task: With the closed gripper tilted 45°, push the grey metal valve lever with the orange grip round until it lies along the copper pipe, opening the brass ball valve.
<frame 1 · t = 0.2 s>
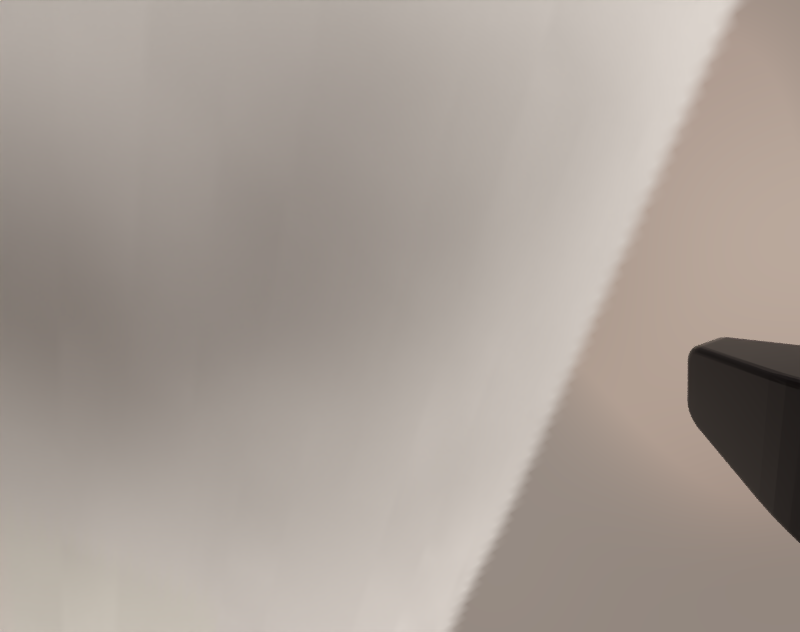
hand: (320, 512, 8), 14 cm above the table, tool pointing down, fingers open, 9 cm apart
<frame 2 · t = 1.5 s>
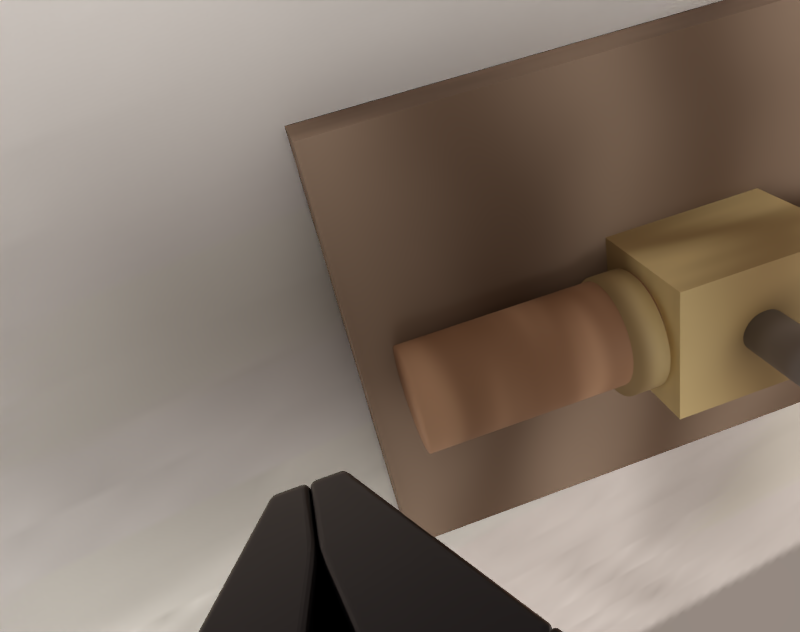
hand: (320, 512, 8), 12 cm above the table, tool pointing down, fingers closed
valve stand: (653, 253, 22), on the table
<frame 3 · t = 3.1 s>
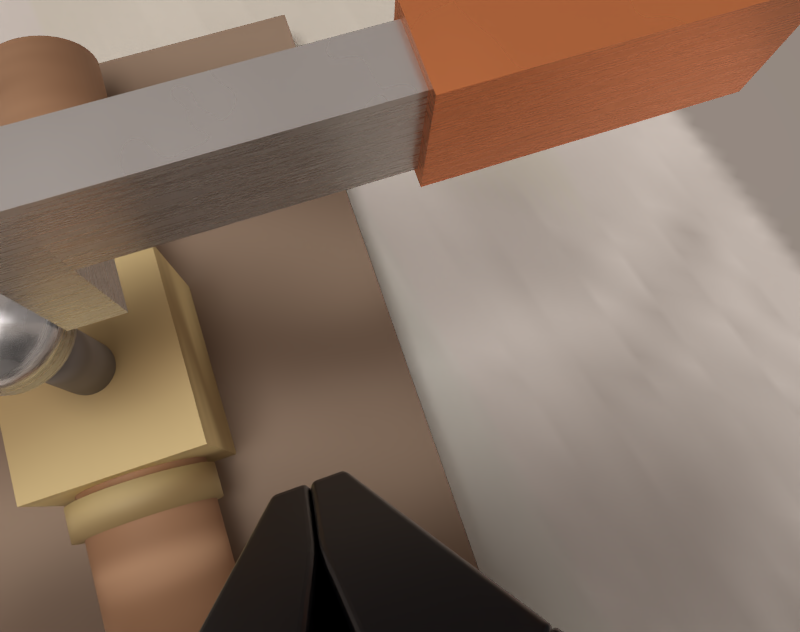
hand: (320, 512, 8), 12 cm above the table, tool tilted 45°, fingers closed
valve lever: (311, 175, 10), point 11 cm above the table, hinge at 0.0°
valve stand: (155, 399, 20), on the table
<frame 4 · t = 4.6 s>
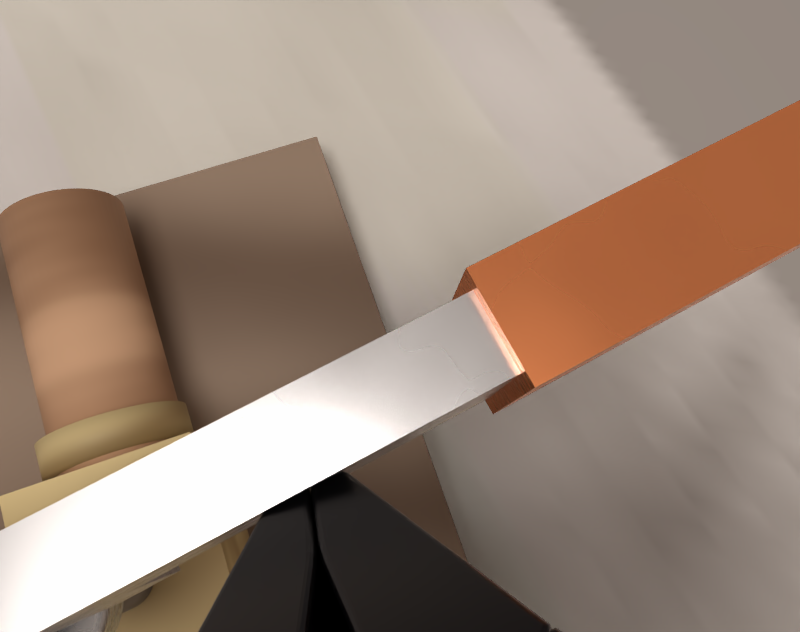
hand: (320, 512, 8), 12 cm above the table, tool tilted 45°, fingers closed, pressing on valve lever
valve lever: (371, 419, 9), point 11 cm above the table, hinge at 8.8°, touching gripper
valve stand: (185, 557, 19), on the table
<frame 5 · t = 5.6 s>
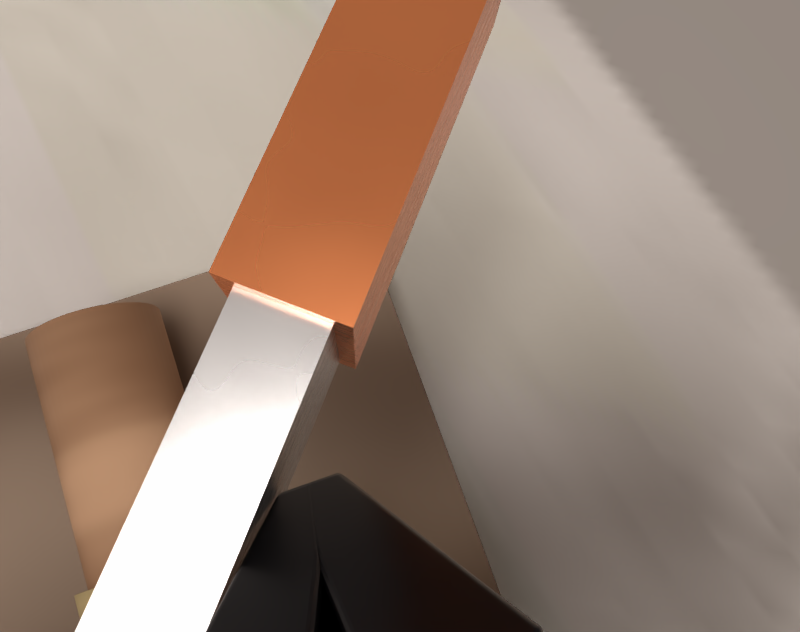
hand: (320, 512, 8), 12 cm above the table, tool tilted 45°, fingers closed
valve lever: (256, 461, 8), point 11 cm above the table, hinge at 49.2°, touching gripper
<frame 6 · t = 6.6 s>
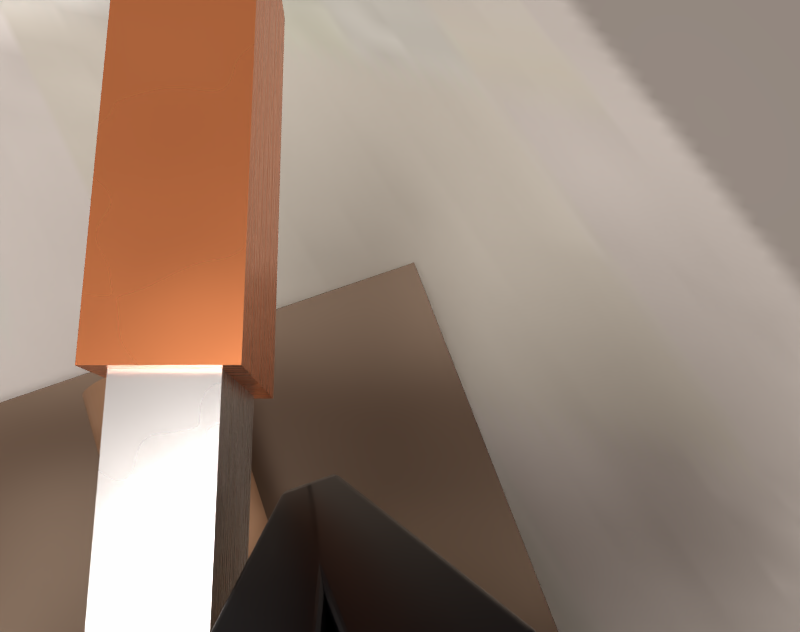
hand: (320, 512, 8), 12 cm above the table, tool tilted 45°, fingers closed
valve lever: (209, 525, 8), point 11 cm above the table, hinge at 70.3°, touching gripper
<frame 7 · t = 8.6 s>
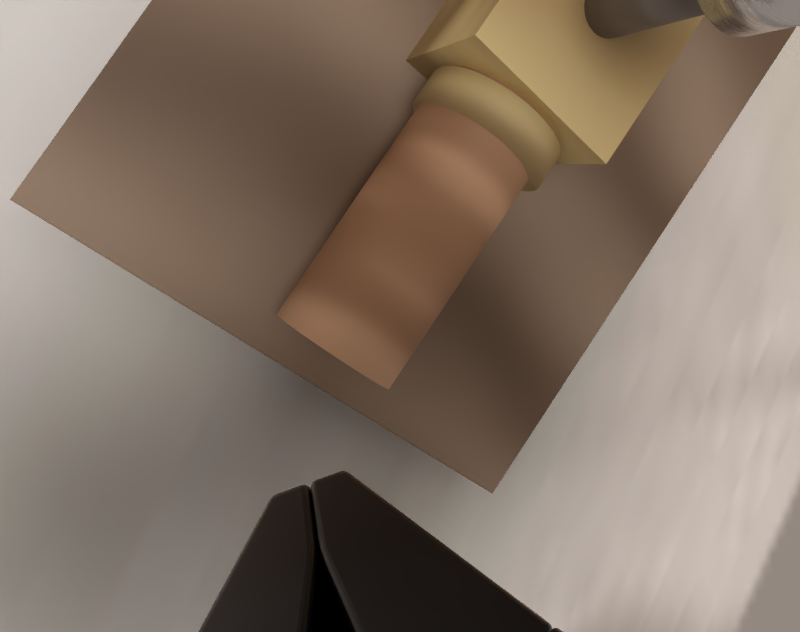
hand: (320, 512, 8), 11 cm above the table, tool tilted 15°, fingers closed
valve stand: (489, 45, 19), on the table
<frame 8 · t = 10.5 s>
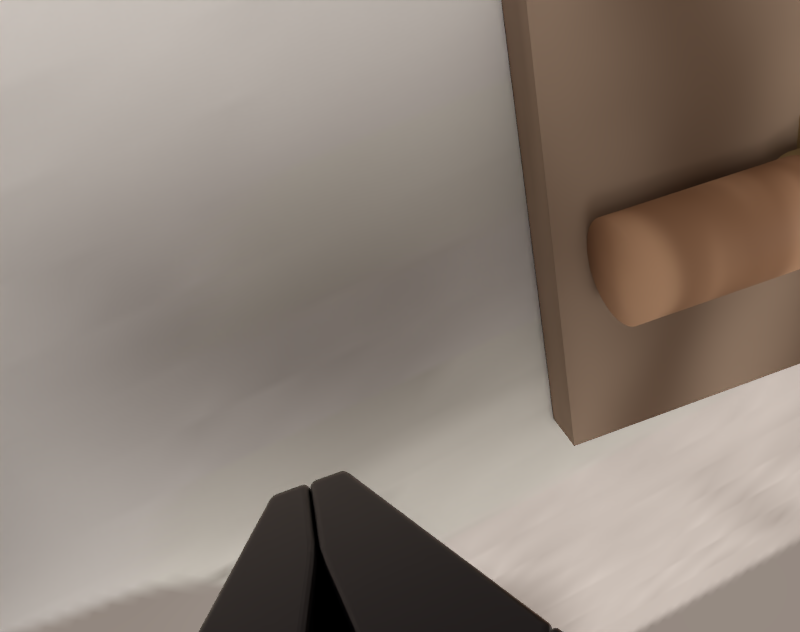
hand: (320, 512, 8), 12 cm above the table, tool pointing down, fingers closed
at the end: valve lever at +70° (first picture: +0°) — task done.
